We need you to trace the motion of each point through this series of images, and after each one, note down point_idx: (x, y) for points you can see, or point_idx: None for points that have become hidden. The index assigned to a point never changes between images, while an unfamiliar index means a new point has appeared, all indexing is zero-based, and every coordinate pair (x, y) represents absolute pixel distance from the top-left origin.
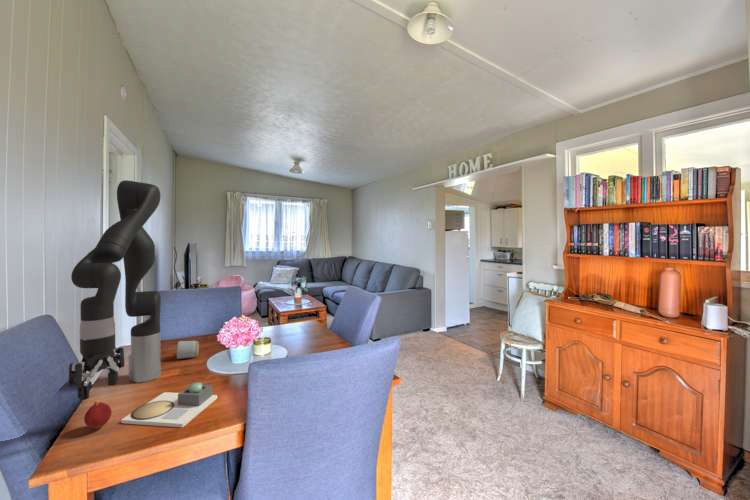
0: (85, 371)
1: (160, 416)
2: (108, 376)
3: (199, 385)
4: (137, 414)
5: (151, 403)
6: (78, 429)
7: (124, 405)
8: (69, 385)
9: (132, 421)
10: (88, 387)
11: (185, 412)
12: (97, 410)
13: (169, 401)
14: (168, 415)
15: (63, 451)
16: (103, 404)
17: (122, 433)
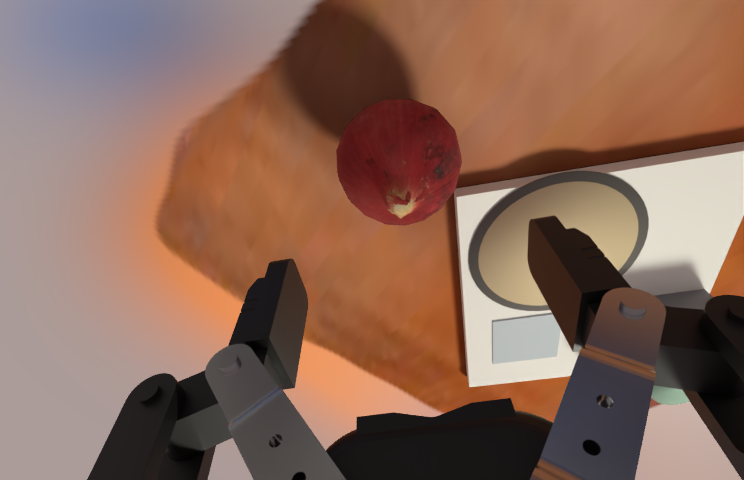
0: (302, 446)
1: (503, 310)
2: (561, 271)
3: (674, 401)
4: (506, 228)
5: (617, 199)
6: (358, 36)
7: (641, 14)
8: (136, 399)
9: (458, 243)
10: (293, 371)
11: (537, 358)
12: (374, 215)
13: (635, 254)
14: (511, 329)
15: (230, 172)
16: (417, 214)
17: (393, 257)
